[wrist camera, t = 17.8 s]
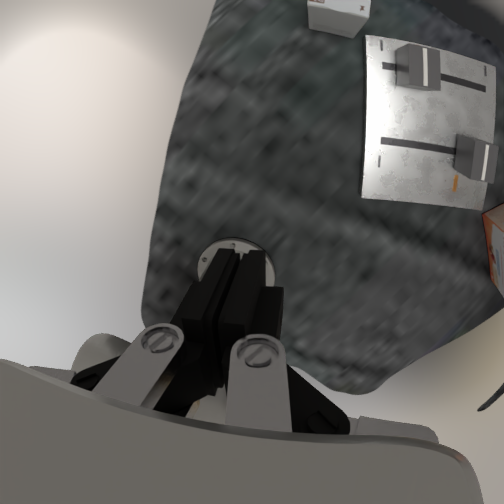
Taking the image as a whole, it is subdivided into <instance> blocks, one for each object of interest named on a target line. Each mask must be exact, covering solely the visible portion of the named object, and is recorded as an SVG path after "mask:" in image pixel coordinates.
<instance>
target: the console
mask: <svg viewBox="0 0 504 504" xmlns="http://www.w3.org/2000/svg"><path fill="white" fill-rule="evenodd" d="M408 43H410V44H415V45H419V46H424V47H428V48H432V49H436V50H440V67H441V91H423V90H418V89H413V88H407V87H401V86H397V65H396V49H397V48H400V47H402V46H404V45H406V44H408ZM363 52H364V122H363V146H362V163H361V177H360V189H359V194H360V196H361V198H369V199H382V200H394V201H405V202H415V203H425V204H434V205H443V206H451V207H460V208H467V209H475V210H482V209H483V204H484V199H485V194H486V188H487V182H482V181H476V180H470V179H469V178H467V177H466V176H464V175H462V174H461V173H459V172H457V171H456V170H454V165H455V156H456V147H457V136H458V134H459V135H463V136H468V137H472V138H476V139H480V140H483V141H486V142H489V143H492V144H493V137H494V124H495V105H496V68H495V67H494V66H491V65H489V64H486V63H483V62H480V61H477V60H474V59H471V58H468V57H465V56H462V55H459V54H455V53H452V52H449V51H445V50H441V49H437V48H434V47H429V46H425V45H421V44H416V43H412V42H407V41H402V40H396V39H391V38H385V37H378V36H371V35H365V36H364V37H363Z"/></svg>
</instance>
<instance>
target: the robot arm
mask: <svg viewBox="0 0 504 504" xmlns="http://www.w3.org/2000/svg"><path fill="white" fill-rule="evenodd" d="M233 243H235V244H233ZM197 272H198V277H199V281H194V282H193V283H192V285H191V286H190V288H189V290H188V292H187V294H186V295H185V297H184V299H183V301H182V302H181V304H180V306H179V308H178V310H177V311H176V313H175V315H174V317H173V319H172V320H171V322H170V324H167V323H161V324H155V325H152V326H149V327H148V328H146V329H144V330H143V331H142V332H141V333H140V334H139V335H138V336H137V337H136V339H135V340H134V341H133V342H132V343H130V342H127V341H125V340H123V339H121V338H119V337H116V336H114V335H110V334H103V333H101V334H96V335H94V336H92V337H90V338H89V339H88V340H87V341H86V342H85V343H84V344H83V345H82V347H81V348H80V350H79V352H78V353H77V356H76V358H75V360H74V362H73V365H72V368H71V370H62V369H54V368H45V367H38V366H30V367H26V366H24V365H21V364H18V363H15V362H12V361H8V360H5V359H0V504H484V503H483V498H482V493H481V489H480V486H479V482H478V479H477V476H476V474H475V472H474V469H473V467H472V466H471V464H470V462H469V461H468V460H467V459H466V457H465V456H463V455H462V454H461V453H459V452H458V451H456V450H454V449H451V448H449V447H447V446H444V445H441V444H439V442H438V437H437V436H436V434H435V432H434V431H432V430H431V429H430V428H429V427H426V426H422V425H416V424H408V423H401V422H394V421H387V420H381V419H374V418H369V417H364V416H360V417H359V419H356V418H351V417H347V415H346V414H345V413H344V412H343V411H342V410H341V409H340V408H338V407H337V406H336V405H335V404H334V403H332V402H331V401H330V400H329V399H327V398H326V397H325V396H324V395H323V394H322V393H320V392H319V391H318V390H317V389H316V388H314V387H313V386H312V385H311V384H310V383H309V382H307V381H306V380H305V379H304V378H303V377H301V376H300V375H299V374H298V373H297V372H296V371H294V370H293V369H292V368H291V367H290V366H289V365H288V364H286V356H285V350H284V346H283V345H282V344H281V342H280V334H281V326H282V315H283V295H284V288H283V287H273V286H274V283H275V269H274V265H273V263H272V261H271V259H270V258H269V256H268V255H267V253H266V252H265V250H262V249H261V248H260V247H259V246H257V245H256V244H254V243H252V242H249V241H247V240H243V239H238V238H226V239H222V240H218V241H216V242H214V243H212V244H211V245H209V246H208V247H207V248H206V249H205V251H204V252H203V253H202V255H201V257H200V259H199V262H198V268H197Z"/></svg>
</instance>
